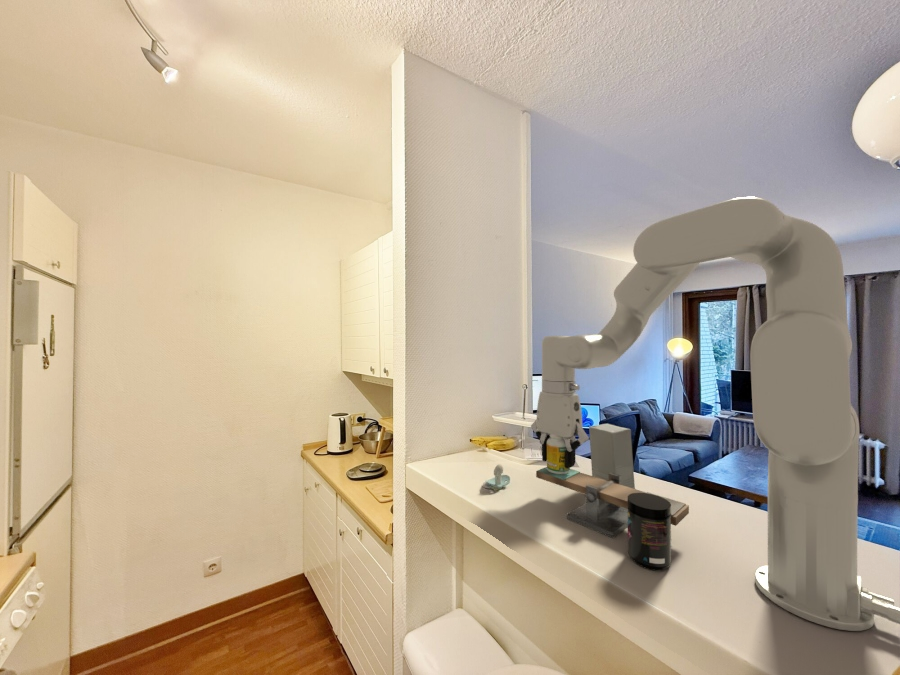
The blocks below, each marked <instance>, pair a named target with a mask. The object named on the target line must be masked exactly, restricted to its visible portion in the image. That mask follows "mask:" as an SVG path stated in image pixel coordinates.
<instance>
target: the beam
mask: <svg viewBox="0 0 900 675" xmlns="http://www.w3.org/2000/svg"><path fill="white" fill-rule="evenodd" d="M535 477H536V478H537V479H540V480H543V481H546V482H549V483H552V484H554V485H558V486H559V487H563V488H566V489H569V490H572V491H575V492H578V493H581V494H583V495H586V485H591V486H594V487H597V488H599V499H600V500H603V501H606V502H609V503H612V504H615V505H617V506H620V507H623V508H626V509H628V507H627V504H628V499H627V497H628V495H630V494H632V493H648V494H653V495H657V496H660V497H662V498H664V499H666V500H668V501H669V502H670V504H671V526H672V525H673V526H675V527H676V526H678V524H680V522H682V521H683V520H684V518H686V517H687V516H688V515H689V514H690V505H688V504H686V503H685V502H681V501H678V500H675V499H673V498H668V497H665V496H662V495H659V494H656V493H651V492H648V491H642V490H640V489H639V490H638V489H636V488H635V489H633V488H630V487H626V486H623V485H620V484H617V482H616V481H615V480H610V481H607V480H603V479H600V478H597V477H594V476H592V475H590V474H588V473H587V474H586V473H583V472H581V471H579V470H576V469H572V468H570V472H569V473H567V474H554V473H551V472H549V471H548V470H547V466H545V467H543V468H540V469H538V470H536V474H535Z"/></svg>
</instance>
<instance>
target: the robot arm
mask: <svg viewBox="0 0 900 675" xmlns="http://www.w3.org/2000/svg"><path fill="white" fill-rule="evenodd" d="M633 257H634V261H636V264H635V265H634V266H633V267H632V268H631V270H629V272H628V273H627V274H626V276H625V277H623V279H622V280H621V281H620V282H619V284H618V285H617V286H616V287H615V289H614V291H613V297H614V299H615V303H616V304H615V305H616V307H615V311H614V314H613V316H612V317H611V319H610V320H609V321H608V322H607V323H606V325H605V326H604V327H603V328H602V329H601V331H599V332H598V333H597V334H596V333H595V334H578V335H547V336H544V337H543V339H542V341H541V391H540V392H539V396H538V400H537V405H536V406H537V408H536V419H535V420H534V422H533V423H532V424H531V425H530V429H531V430H532V432H534V433H535V436H536V437H537V439H538V440H539V445H541V456H542V458H541V459H542V461H543V462H547V440H548V439H549V438H551V437H550V435H549V434H552V435H556V436H559V437H562V438H564V440H565V444H566V448H567V450H566V451H565V468H570V469H571V468H572V467H574V466H575V464H576V450H578V448H579V447H581V446H582V445H583V444H584V443H586V442H587V441H590V436H588V434H587V433H586V432H585V429H584V428H583V414H582V406H581V402H580V397H579V394H578V393H576V391H580V384H577V383H576V375H575V374H576V370H589V369H595V368H604V367H608V366H611V365H612V364H614V363H615V362H617V361H618V360H619V359H620V358H621V357H622V356H623V355H624V354H625V353H626V352H627V351H628V350H629V349H630V348H631V347H632V346H633V345H634V344H635V343H636V341H637V340H638V339H639V338H640V336H641V334H642V333H643V331H644V329H645V327H646V326H647V324H648V323H649V319H650V317H651V316H652V314H654V312H655V311H657V309H658V308H659V307H660V306H661V305H662V304H663V303H664V302H665V300H667V298H669V296H670V295H671V294H672V293H673V292H674V291H676V289H677V288H678V287H679V286H680V285H681V284H683V282H685V280H686V279H687V278H688V277H689V276H690V275H691V273H692V272H693V271H694V270H696V268H697V267H698V266H699V264H701V263H705V262H711V261H716V260H721V259H727V258H732V259H735V260H739V261H741V262H745V263H748V264H750V263H751V264H756V265H759V266H760V267H761V268H763V270H764V272H765V275H766V281H765V296H766V305H767V306H766V308H767V310H766V312H767V313H766V314H767V315H766V317H767V318H766V321H764V322H763V323H762V324H761V325H760V326H759V327H758V328H757V330H756V331H755V333H754V335H753V337H752V340H751V344H750V352H749V353H750V358H749V359H750V381H751V382H750V383H751V399H752V400H751V405H752V407H751V408H752V417H753V426H754V429H755V433H756V434H757V437H758V439H759V440H760V442H761V443H762V444H763V446H764V447H765V448H766V449H767V450H768V456H767V457H768V458H767V565H763V566H760V567H758V568H757V569H756V570H755V572H754V582H755V584H756V586H757V588H758V590H759V591H760V592H761V593H762V594H763V595H764V596H765V597H766V598H768V599H769V600H770V601H772V603H774V604H776V605H777V606H779V607H781V608H782V609H784V610H785V611H787V612H789V613H791V614H793V615H795V616H798V617H800V618H801V619H803V620H805V621H806V620H807V621H809V622H812V623H814V624H816V625H817V624H818V625H821V626H824V627H827V628H831V629H834V630H835V629H837V630H841V631H849V632H862V631H866V630H869V629H870V628H872V627H873V626H874V623H875V615H876V616H879V617H880V618H884V619H886V620H888V621H890V622H892V623H895V624H898V625H900V607H898V606H895V599H894V598H891V597H888V596H884V595H882V594H878V593H874V592H872V591H869V590H868V588H866V587H863V586H862V577H861V575H858V503H859V492H858V491H859V490H858V488H859V480H858V479H859V451H860V450H859V449H860V448H859V447H860V421H859V417H858V414H857V411H856V410H855V408H854V407H853V405H852V403H851V402H852V399H851V384H850V383H851V380H850V376H851V375H850V357H851V354H852V350H853V343H852V342H853V341H852V337H851V334H850V330H849V322H848V310H847V309H848V307H847V296H846V289H845V288H846V287H845V275H844V266H843V259H842V255H841V252H840V250H839V247H838V245H837V243H836V242H835V240H834V239H833V238H832V236H830V234H829V233H828V232H826V231H825V230H824V229H823V228H821V227H820V226H818V225H816V223H815V224H814V223H813V222H811V221H808V220H804V219H801V218H798V217H795V216H791V215H789V214H788V215H787V214H785V213H784V212H783V211H781V210H780V209H779V208H778V207H777V205H775V204H774V203H772V201H769V200H768V199H764V198H761V197H755V196H746V197H745V196H744V197H736V198H732V199H728V200H723V201H721V202H717V203H715V204H712V205H708V206H705V207H702V208H698V209H695V210H692V211H688V212H684V213H680V214H678V215H675V216H670V217H668V218H665V219H662V220H660V221H656V222H655V223H652V224H650V225H649V226H647V227H646V228H645V229H643V230H642V232H641V233H640V234H639V235H638V237H637V238H636V240H635V242H634V245H633ZM576 437H578V439H576Z"/></svg>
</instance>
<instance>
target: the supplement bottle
mask: <svg viewBox="0 0 900 675" xmlns="http://www.w3.org/2000/svg"><path fill="white" fill-rule="evenodd" d="M549 435H550V437H551V438H549V439H548V440H547V461H546V467H547V470H548V471H549V472H551V473H554V474H567V473H569V472H570V469H571V467H570V468H565V451H566V450H567V448H566V444H565V440H564V438H562V437H559V436H556V435H552V434H549Z"/></svg>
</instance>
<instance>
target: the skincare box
mask: <svg viewBox="0 0 900 675" xmlns="http://www.w3.org/2000/svg"><path fill="white" fill-rule="evenodd" d="M588 429H589V430H588V431H589V434H588V435H589V444H590V446H589V447H590V459H591V460H590V463H591V476H594V477H597V478H600V479H603V480H607V481H609V473H613V474H617V475H620V476H621V485H623V486H626V487H630V488H633V489H636V487H635V474H634V472H635V470H634V458H633V444H632V430H631V429H630V428H626V427H621V426H617V425H615V424H611V423H602V424H596V425H591V426H589V427H588Z"/></svg>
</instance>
